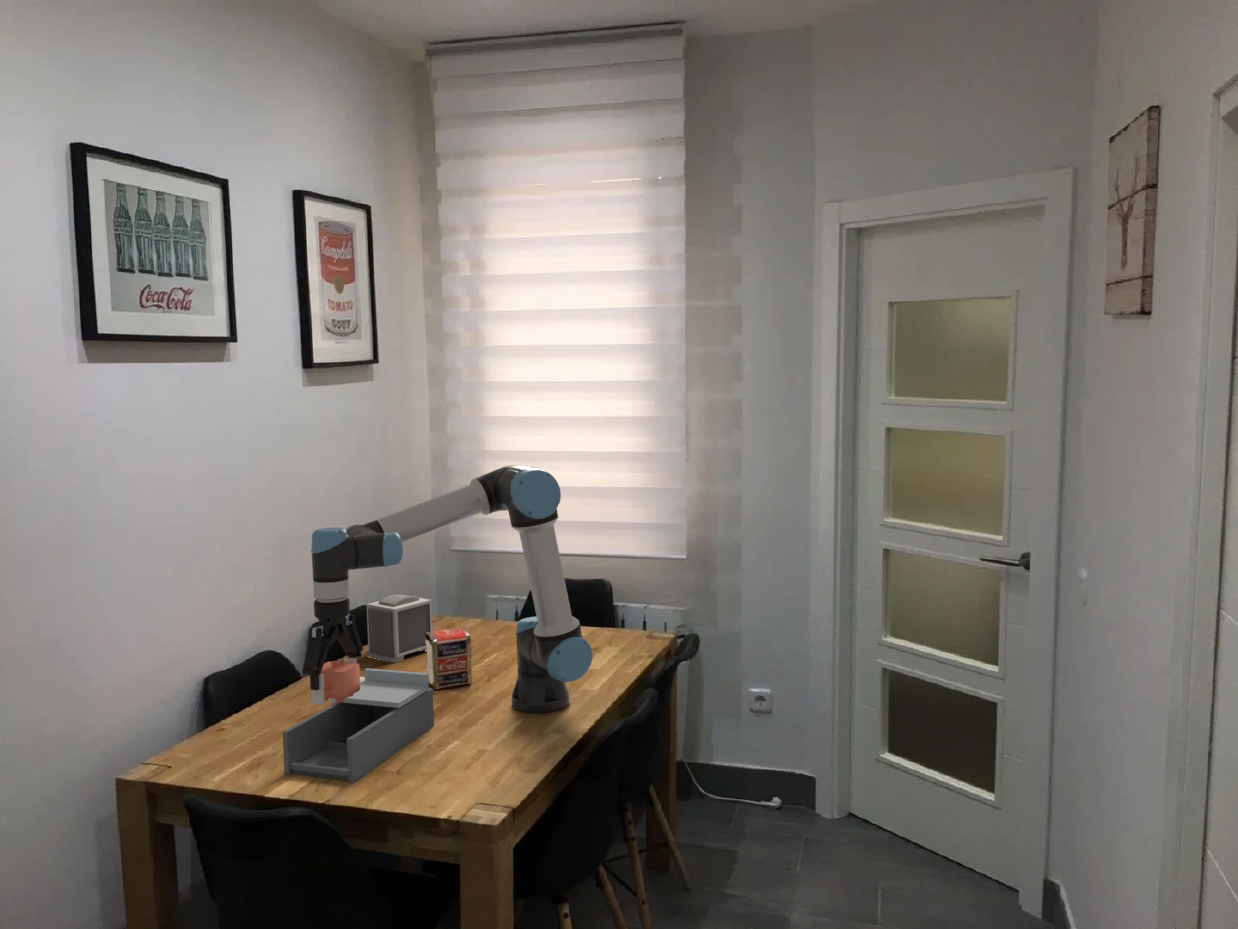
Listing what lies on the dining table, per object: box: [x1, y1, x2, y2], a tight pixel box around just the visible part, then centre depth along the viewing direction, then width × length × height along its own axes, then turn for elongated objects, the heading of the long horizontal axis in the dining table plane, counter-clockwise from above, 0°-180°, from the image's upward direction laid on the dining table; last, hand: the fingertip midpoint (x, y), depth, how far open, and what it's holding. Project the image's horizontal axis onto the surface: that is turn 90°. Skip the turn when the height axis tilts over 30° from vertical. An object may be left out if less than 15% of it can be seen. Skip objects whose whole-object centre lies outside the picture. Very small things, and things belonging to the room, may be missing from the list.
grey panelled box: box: [365, 593, 434, 663], centre depth 304 cm, size 18×13×18 cm
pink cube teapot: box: [316, 660, 361, 703], centre depth 214 cm, size 8×12×8 cm, turn 164°
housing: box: [282, 687, 435, 784], centre depth 225 cm, size 17×35×10 cm, turn 162°
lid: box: [335, 667, 430, 708], centre depth 233 cm, size 17×14×4 cm
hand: (335, 694), depth 214 cm, fingers closed on pink cube teapot, 12 cm apart
